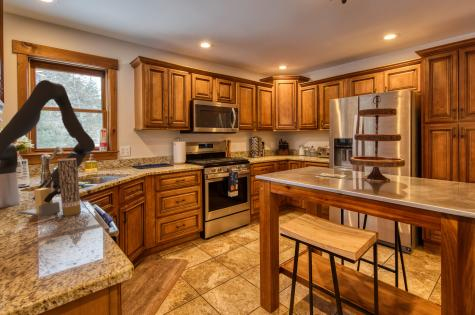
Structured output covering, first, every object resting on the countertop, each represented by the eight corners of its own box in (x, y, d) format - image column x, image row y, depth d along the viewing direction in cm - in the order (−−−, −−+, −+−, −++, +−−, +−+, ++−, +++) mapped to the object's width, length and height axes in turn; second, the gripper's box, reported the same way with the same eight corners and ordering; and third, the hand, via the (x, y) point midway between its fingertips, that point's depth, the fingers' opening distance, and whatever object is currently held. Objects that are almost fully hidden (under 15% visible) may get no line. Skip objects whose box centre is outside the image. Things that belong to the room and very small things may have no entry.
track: (19, 213, 113) (17, 203, 113) (36, 209, 120) (35, 199, 120) (42, 217, 106) (41, 206, 106) (60, 212, 113) (58, 202, 112)
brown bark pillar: (64, 213, 112) (59, 158, 110) (82, 210, 115) (77, 157, 112) (61, 217, 106) (55, 159, 103) (79, 214, 108) (74, 158, 106)
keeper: (36, 213, 110) (33, 189, 109) (47, 210, 114) (45, 187, 114) (42, 214, 109) (40, 190, 108) (53, 211, 113) (51, 188, 112)
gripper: (49, 166, 119) (23, 195, 110) (67, 167, 114) (42, 197, 104) (61, 175, 125) (38, 204, 115) (80, 176, 119) (57, 206, 110)
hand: (40, 201), depth 110 cm, fingers open, 8 cm apart
